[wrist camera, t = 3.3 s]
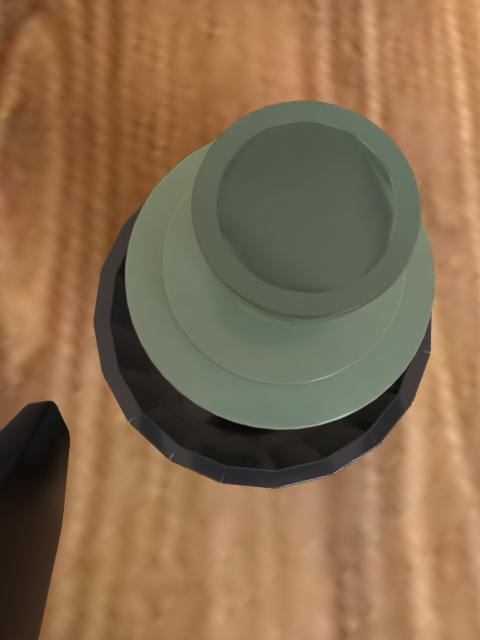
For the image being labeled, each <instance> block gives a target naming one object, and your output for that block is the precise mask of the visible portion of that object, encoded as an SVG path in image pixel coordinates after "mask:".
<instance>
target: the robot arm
mask: <svg viewBox="0 0 480 640" xmlns="http://www.w3.org/2000/svg"><path fill="white" fill-rule="evenodd" d="M69 448H70V435H69V431H68V428H67V426H66V424H65V422H64V420H63V418H62V416H61V414H60V412H59V409H58V407H57V405H56V404H55V403H54V402H53V401H41V402H34V403H30V404H28V405H26V406H25V407H24V408H23V409H22V410H21V411H20V412H19V413H18V414H17V415H16V416H15V417H14V418H13V419H12V420H11V421H10V422H9V423H8V424H7V425H6V426H5V427H4V428H3V429H2V430H1V431H0V640H38V639H39V634H40V629H41V625H42V620H43V615H44V610H45V605H46V601H47V596H48V591H49V586H50V581H51V577H52V572H53V567H54V562H55V557H56V553H57V548H58V543H59V538H60V533H61V527H62V520H63V512H64V501H65V491H66V480H67V469H68V458H69Z"/></svg>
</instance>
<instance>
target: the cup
mask: <svg viewBox="0 0 480 640" xmlns="http://www.w3.org/2000/svg"><path fill="white" fill-rule="evenodd" d="M144 204H145V203H144ZM144 204H143V205H144ZM143 205H142V206H141V207H140V208H139V209H138V210H137V211H136V212H135V213H134V214H133V215H132V216H131V217H130V218H129V219H128V220H127V221H126V222H125V225H123V227H122V229H121V231H120V233H119V235H118V237H117V239H116V241H115V243H114V245H113V247H112V249H111V251H110V253H109V255H108V257H107V259H106V261H105V263H104V265H103V267H102V271H101V273H100V280H99V286H98V293H97V300H96V307H95V314H94V321H95V322H94V329H95V335H96V340H97V346H98V352H99V358H100V363H101V369H102V373H103V374H104V378H105V380H106V382H107V384H108V385H109V387H110V389H111V391H112V393H113V395H114V396H115V398H116V400H117V402H118V404H119V406H120V407H121V409H122V411H123V413H124V415H125V417H126V419H127V420H128V421H129V422H130V424H131V425H132V426H133V427H134V428H135V429H136V430H137V431H138V432H139V433H140V434H142V435H143V436H144V437H145V438H146V439H147V440H148V441H149V442H150V443H151V444H152V445H153V446H154V447H156V448H157V449H158V450H159V451H160V452H161V453H162V454H163V455H164V456H165V457H166V458H167V459H169V460H170V459H171V461H172V462H174V463H176V464H178V465H181V466H183V467H185V468H187V469H190V470H192V471H194V472H196V473H199V474H201V475H203V476H205V477H207V478H210V479H212V480H214V481H216V482H219V483H221V482H222V483H223V484H230V485H241V486H252V487H263V488H273V489H276V488H277V487H278V488H283V487H288V486H292V485H296V484H300V483H304V482H308V481H312V480H316V479H321V478H325V477H329V476H331V474H332V475H334V474H336V473H337V472H339V471H340V470H342V469H343V468H345V467H347V466H348V465H350V464H351V463H353V462H354V461H356V460H357V459H359V458H361V457H362V456H364V455H365V454H367V453H368V452H370V451H372V450H373V449H375V448H376V447H377V446H378V445H380V444H381V442H382V441H383V440H384V439H385V437H386V436H387V435H388V434H389V432H390V431H391V430H392V429H393V427H394V426H395V425H396V424H397V422H398V421H399V420H400V419H401V417H402V416H403V415H404V414H405V412H406V411H407V410H408V408H409V407H410V406H411V404H412V402H413V401H414V398H415V395H416V392H417V390H418V387H419V384H420V381H421V378H422V376H423V373H424V370H425V367H426V364H427V362H428V359H429V356H430V352H431V317H430V320H429V323H428V326H427V329H426V332H425V336H424V338H423V340H422V342H421V344H420V346H419V348H418V350H417V352H416V354H415V356H414V357H413V359H412V360H411V362H410V363H409V365H408V366H407V368H406V369H405V371H404V372H403V373H402V374H401V375H400V376H399V378H398V379H397V380H396V381H395V382H394V383H393V384H392V386H390V387H389V388H388V389H387V390H386V391H385V392H383V393H382V394H381V395H380V396H379V397H378V398H377V399H375V400H374V401H372V402H371V403H369V404H368V405H366V406H364V407H363V408H361V409H360V410H358V411H356V412H354V413H352V414H350V415H348V416H345V417H343V418H341V419H339V420H336V421H332V422H329V423H326V424H323V425H319V426H314V427H308V428H302V429H284V430H275V429H265V428H256V427H251V426H247V425H243V424H239V423H235V422H232V421H230V420H227V419H225V418H222V417H219V416H217V415H214V414H213V413H211V412H209V411H207V410H205V409H204V408H202V407H200V406H198V405H196V404H195V403H193V402H192V401H191V400H189V399H188V398H187V397H185V396H184V395H183V394H181V393H180V392H179V391H178V390H177V389H176V388H175V387H174V386H173V385H172V384H171V383H170V382H169V381H167V380H166V379H165V378H164V377H163V375H162V374H161V373H160V371H159V370H158V369H157V368H156V366H155V365H154V364H153V362H152V361H151V360H150V358H149V356H148V355H147V353H146V351H145V349H144V348H143V346H142V344H141V343H140V340H139V338H138V335H137V333H136V331H135V328H134V326H133V323H132V320H131V316H130V312H129V308H128V304H127V296H126V288H125V263H126V256H127V250H128V244H129V240H130V237H131V234H132V230H133V227H134V224H135V222H136V220H137V218H138V215H139V213H140V211H141V209H142V207H143ZM431 314H432V311H431Z"/></svg>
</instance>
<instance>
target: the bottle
mask: <svg viewBox="0 0 480 640" xmlns="http://www.w3.org/2000/svg"><path fill="white" fill-rule="evenodd" d="M434 282H435V275H434V265H433V256H432V252H431V248H430V243H429V239H428V236H427V233H426V231H425V228H424V225H423V223H422V220H421V203H420V195H419V190H418V186H417V182H416V179H415V177H414V174H413V171H412V169H411V167H410V165H409V163H408V161H407V159H406V158H405V156H404V154H403V153H402V152H401V150H400V149H399V147H398V146H397V145H396V144H395V142H394V141H393V140H392V139H391V138H390V137H389V136H388V135H387V134H386V133H385V132H384V131H383V130H381V129H380V128H379V127H378V126H377V125H375V124H374V123H372V122H371V121H369V120H368V119H366V118H365V117H363V116H361V115H359V114H357V113H355V112H353V111H351V110H348V109H346V108H343V107H340V106H337V105H333V104H328V103H324V102H316V101H290V102H282V103H277V104H274V105H270V106H266V107H263V108H261V109H258V110H256V111H253V112H251V113H250V114H248V115H246V116H244V117H242V118H241V119H239V120H238V121H237V122H235V123H234V124H232V125H231V126H230V127H229V128H228V129H226V130H225V131H224V132H223V133H222V134H221V135H220V136H219V137H218V138H217V140H216V141H214V142H211V143H209V144H207V145H205V146H204V147H202V148H200V149H198V150H196V151H195V152H193V153H192V154H190V155H189V156H187V157H186V158H185V159H183V160H182V161H181V162H179V163H178V164H177V165H176V166H175V167H174V168H173V169H172V170H171V171H169V172H168V173H167V174H166V175H165V176H164V177H163V179H162V180H161V181H160V182H159V183H158V185H157V186H156V187H155V188H154V190H153V191H152V192H151V194H150V195H149V197H148V199H147V200H146V202H145V204H144V205H143V207H142V209H141V211H140V213H139V215H138V218H137V220H136V222H135V224H134V227H133V230H132V234H131V237H130V240H129V244H128V250H127V256H126V263H125V288H126V296H127V304H128V308H129V312H130V316H131V320H132V323H133V326H134V328H135V331H136V333H137V335H138V338H139V340H140V343H141V344H142V346H143V348H144V349H145V351H146V353H147V355H148V356H149V358H150V360H151V361H152V362H153V364H154V365H155V366H156V368H157V369H158V370H159V371H160V373H161V374H162V375H163V377H164V378H165V379H166V380H167V381H169V382H170V383H171V384H172V385H173V386H174V387H175V388H176V389H177V390H178V391H179V392H180V393H181V394H183V395H184V396H185V397H187V398H188V399H189V400H191V401H192V402H193V403H195V404H196V405H198V406H200V407H202V408H204V409H205V410H207V411H209V412H211V413H213V414H214V415H217V416H219V417H222V418H225V419H227V420H230V421H232V422H235V423H239V424H243V425H247V426H251V427H256V428H265V429H275V430H284V429H302V428H308V427H314V426H319V425H323V424H326V423H329V422H332V421H336V420H339V419H341V418H343V417H345V416H348V415H350V414H352V413H354V412H356V411H358V410H360V409H361V408H363V407H364V406H366V405H368V404H369V403H371V402H372V401H374V400H375V399H377V398H378V397H379V396H380V395H381V394H382V393H383V392H385V391H386V390H387V389H388V388H389V387H390V386H392V384H393V383H394V382H395V381H396V380H397V379H398V378H399V376H400V375H401V374H402V373H403V372H404V371H405V369H406V368H407V366H408V365H409V363H410V362H411V360H412V359H413V357H414V356H415V354H416V352H417V350H418V348H419V346H420V344H421V342H422V340H423V338H424V336H425V332H426V329H427V326H428V323H429V320H430V317H431V311H432V305H433V299H434Z"/></svg>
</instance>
